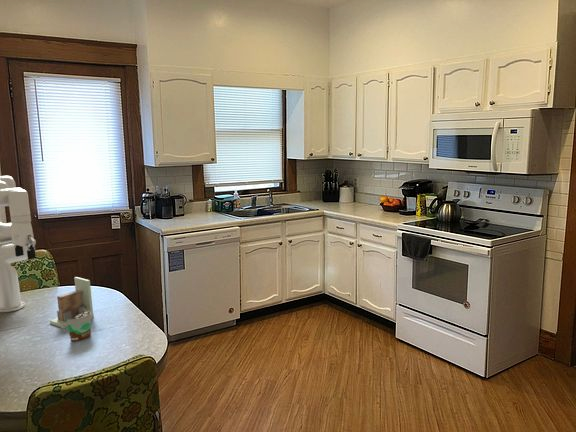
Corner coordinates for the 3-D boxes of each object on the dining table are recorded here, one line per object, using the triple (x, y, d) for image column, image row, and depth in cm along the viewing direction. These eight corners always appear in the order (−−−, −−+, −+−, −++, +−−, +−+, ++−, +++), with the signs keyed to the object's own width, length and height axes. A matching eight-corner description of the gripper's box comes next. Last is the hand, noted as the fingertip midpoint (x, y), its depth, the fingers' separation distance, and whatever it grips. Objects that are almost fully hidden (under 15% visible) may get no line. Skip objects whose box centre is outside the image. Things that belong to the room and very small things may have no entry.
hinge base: (63, 328, 215) (58, 289, 211) (50, 323, 220) (45, 285, 217) (93, 316, 227) (90, 280, 223) (80, 312, 232) (76, 276, 229)
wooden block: (63, 321, 218) (61, 297, 216) (59, 320, 220) (57, 296, 218) (84, 314, 226) (81, 291, 224) (80, 312, 228) (77, 289, 226)
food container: (82, 344, 199) (79, 321, 197) (68, 343, 200) (66, 320, 198) (99, 331, 211) (97, 309, 209) (86, 330, 212) (84, 308, 210)
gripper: (1, 218, 214) (6, 256, 217) (23, 222, 204) (28, 262, 208) (19, 215, 220) (23, 252, 223) (40, 219, 210) (45, 258, 214)
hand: (25, 257), depth 215 cm, fingers open, 9 cm apart
